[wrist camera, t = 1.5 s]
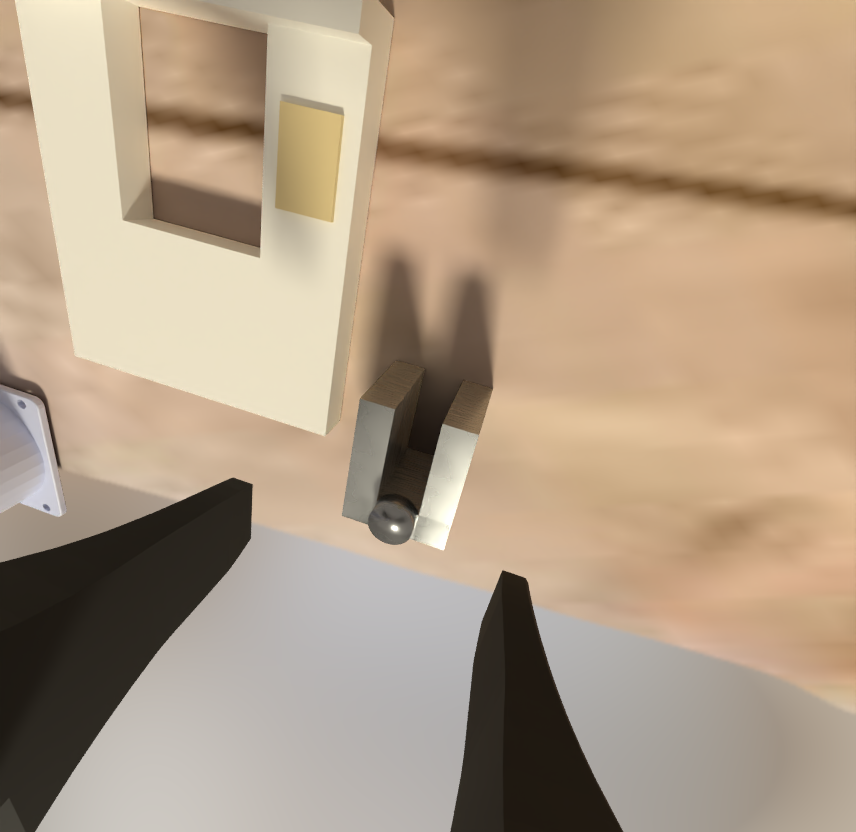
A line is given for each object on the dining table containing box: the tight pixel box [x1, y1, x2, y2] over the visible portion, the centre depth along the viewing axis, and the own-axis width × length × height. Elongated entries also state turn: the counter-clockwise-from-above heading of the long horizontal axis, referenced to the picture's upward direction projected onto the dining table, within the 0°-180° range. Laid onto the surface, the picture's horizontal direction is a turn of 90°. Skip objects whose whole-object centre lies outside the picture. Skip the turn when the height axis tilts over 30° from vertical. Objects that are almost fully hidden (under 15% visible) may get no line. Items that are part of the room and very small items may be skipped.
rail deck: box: [15, 0, 394, 436], centre depth 16 cm, size 12×14×2 cm
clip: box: [342, 360, 493, 550], centre depth 17 cm, size 4×5×5 cm
